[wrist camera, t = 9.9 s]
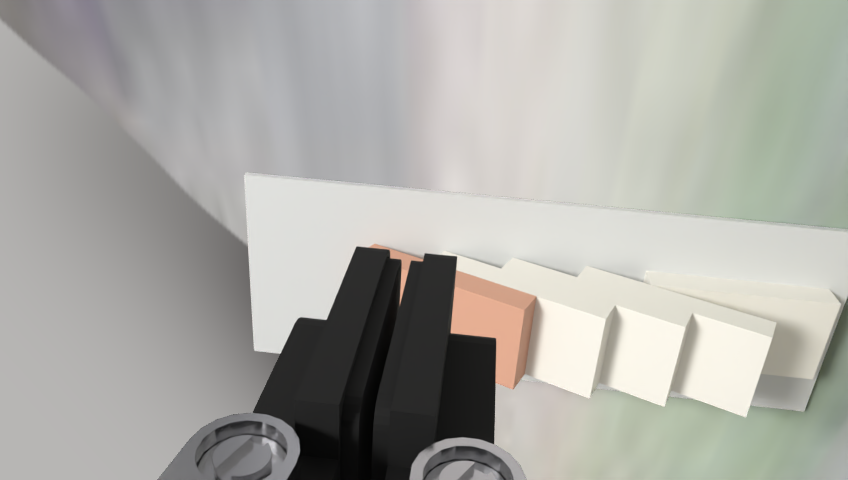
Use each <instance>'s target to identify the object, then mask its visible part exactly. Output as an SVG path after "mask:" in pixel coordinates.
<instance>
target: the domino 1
mask: <svg viewBox="0 0 848 480" xmlns="http://www.w3.org/2000/svg"><path fill="white" fill-rule="evenodd" d="M369 248H379V249H389V250H390V258H393V259H401V261H402V270H401V289H400V303H401V299H402V295H403V291H404V287H405V283H406V279H407V275H408V270H409V266H410V262H411V260H413V261H423V259H420V258H417V257H414V256H411V255H408V254H405V253H402V252H399V251H396V250H393V249H390V248H387V247H383V246H380V245H377V244H373V245H372V246H370V247H369ZM535 303H536V296H534V295H531V294H528V293H525V292H522V291H519V290H516V289H513V288H510V287H506V286H503V285H500V284H497V283H494V282H491V281H488V280H485V279H482V278H479V277H476V276H473V275H470V274H466V273H463V272H460V271H457V270H456V278H455V289H454V300H453V311H452V322H451V333H454V334H463V335H472V336H482V337H491V338H496V382H495V383H498V384H500V385H503V386H505V387H508V388H510V389H514V388H515V386H516V385H517V384H518V382H519V381H520V380H521V378H522V377H523V376H524V374H525V369H526V362H527V356H528V349H529V342H530V336H531V329H532V322H533V316H534V309H535Z"/></svg>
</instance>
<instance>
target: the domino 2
mask: <svg viewBox="0 0 848 480" xmlns="http://www.w3.org/2000/svg"><path fill="white" fill-rule="evenodd" d="M440 255H448V256H457V267H456V270H457V271H460V272H463V273H466V274H470V275H473V276H476V277H479V278H482V279H485V280H488V281H491V282H494V283H497V284H500V285H503V286H506V287H510V288H513V289H516V290H519V291H522V292H525V293H528V294H531V295H534V296H536V303H535V309H534V316H533V322H532V329H531V336H530V342H529V349H528V356H527V362H526V369H525V374H526V375H528V376H531V377H534V378H536V379H539V380H542V381H544V382H547V383H550V384H552V385H555V386H557V387H560V388H563V389H565V390H568V391H571V392H573V393H576V394H578V395H581V396H584V397H586V398H589V399H590V397H591V395H592V394H593V392H594V390H595V389H596V387H597V385H598V384H599V380H600V376H601V371H602V366H603V361H604V357H605V352H606V347H607V342H608V338H609V333H610V328H611V323H612V319H613V314H614V309H615V305H614V304H611V303H608V302H604V301H601V300H598V299H595V298H592V297H589V296H586V295H582V294H579V293H576V292H573V291H570V290H567V289H564V288H560V287H557V286H554V285H551V284H548V283H545V282H542V281H538V280H535V279H532V278H529V277H526V276H523V275H520V274H516V273H513V272H510V271H507V270H504V269H501V268H498V267H495V266H491V265H488V264H485V263H482V262H479V261H476V260H473V259H469V258H466V257H463V256H460V255H457V254H454V253H451V252H447V251H444V252H442V253H441V254H440Z"/></svg>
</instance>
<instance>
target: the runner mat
mask: <svg viewBox="0 0 848 480" xmlns="http://www.w3.org/2000/svg"><path fill="white" fill-rule="evenodd" d="M244 182H245V199H246V217H247V234H248V251H249V269H250V285H251V304H252V321H253V338H254V351H261V352H271V353H280V354H281V352H282V349H283V347H284V345H285V343H286V341H287V339H288V337H289V335H290V333H291V330H292V328H293V326H294V324H295V322H296V321H297V319H298V318H300V317H304V318H314V319H323V320H327V318H328V315H329V313H330V310H331V308H332V305H333V303H334V300H335V298H336V295H337V293H338V290H339V288H340V285H341V283H342V280H343V278H344V276H345V273H346V271H347V268H348V266H349V263H350V261H351V258H352V256H353V253H354V251H355V249H356V247H357V246H359V247H370V246H372V245H373V244H377V245H380V246H383V247H387V248H390V249H393V250H396V251H399V252H402V253H405V254H408V255H411V256H414V257H417V258H420V259H424V254H425V253H428V254H438V255H440V254H441V253H442V252H444V251H447V252H451V253H454V254H457V255H460V256H463V257H466V258H469V259H473V260H476V261H479V262H482V263H485V264H488V265H491V266H495V267H498V268H502V267H503V266H504V265H505V264H506V263H507V262H509V261H510V260H511V259H512V258H516V259H520V260H523V261H526V262H529V263H533V264H536V265H539V266H542V267H546V268H549V269H552V270H555V271H559V272H562V273H565V274H568V275H572V276H575V277H578V276H579V274H580V273H581V272H582V271H583V269H584V268H585V267H586V266H589V267H593V268H596V269H599V270H603V271H606V272H609V273H613V274H616V275H619V276H623V277H626V278H629V279H633V280H636V281H639V282H644V277H645V273H646V271H654V272H664V273H674V274H684V275H694V276H704V277H714V278H724V279H734V280H744V281H754V282H764V283H774V284H784V285H794V286H804V287H814V288H824V289H830V291H831V292H832V293H833V294H834V296H835V297H836V298H837V300H838V301H839V302H840V303H841V306H840V308H839V311H838V314H837V316H836V319H835V322H834V324H833V327H832V330H831V332H830V335H829V338H828V340H827V343H826V346H825V348H824V351H823V354H822V356H821V359H820V362H819V364H818V367H817V370H816V372H815V375H814V377H813V379H804V378H795V377H786V376H777V375H767V374H760V377H759V380H758V383H757V386H756V389H755V392H754V395H753V398H752V401H751V404H750V406H759V407H768V408H777V409H786V410H795V411H805V408H806V405H807V403H808V400H809V397H810V395H811V392H812V389H813V387H814V384H815V382H816V379H817V376H818V374H819V371H820V368H821V366H822V363H823V360H824V358H825V355H826V353H827V350H828V347H829V345H830V342H831V339H832V337H833V334H834V331H835V329H836V326H837V323H838V321H839V318H840V316H841V313H842V310H843V308H844V305H845V302H846V300H847V297H848V229H840V228H830V227H819V226H809V225H798V224H787V223H777V222H766V221H756V220H745V219H735V218H724V217H713V216H703V215H692V214H682V213H671V212H661V211H650V210H639V209H629V208H618V207H608V206H597V205H587V204H576V203H565V202H555V201H544V200H534V199H523V198H513V197H502V196H491V195H481V194H470V193H460V192H449V191H439V190H428V189H417V188H407V187H396V186H386V185H375V184H365V183H354V182H343V181H333V180H322V179H312V178H301V177H291V176H280V175H269V174H259V173H248V172H246V173H245V174H244ZM521 380H524V381H533V382H542V383H547V382H544V381H542V380H539V379H536V378H534V377H531V376H528V375H526V374H524V376H523V377H522V378H521ZM596 389H605V390H614V391H620V390H617V389H614V388H612V387H609V386H606V385H603V384H601V383H599V384H598V385H597V387H596ZM669 397H677V398H687V399H693V398H690V397H688V396H685V395H682V394H679V393H676V392H674V391H671V393H670V395H669Z"/></svg>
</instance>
